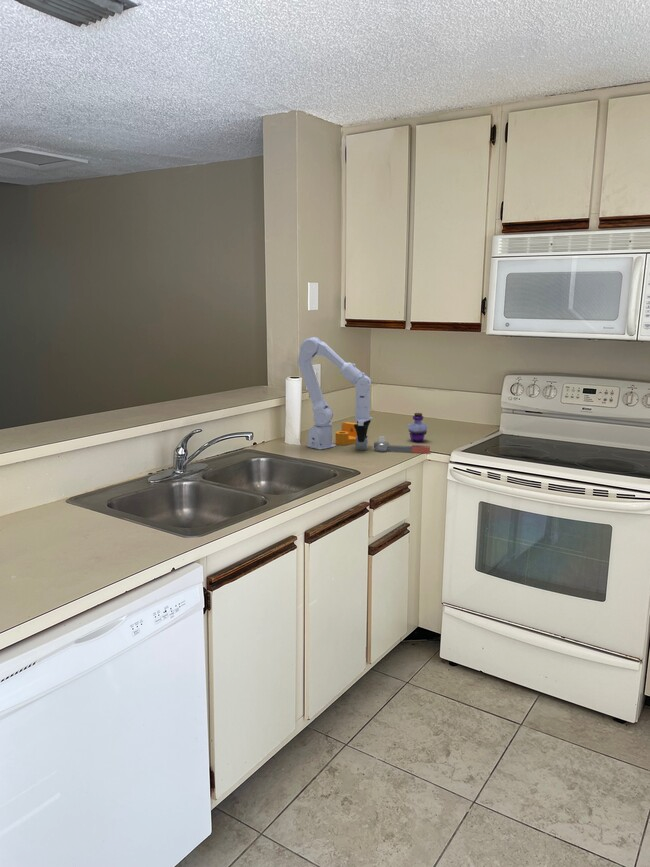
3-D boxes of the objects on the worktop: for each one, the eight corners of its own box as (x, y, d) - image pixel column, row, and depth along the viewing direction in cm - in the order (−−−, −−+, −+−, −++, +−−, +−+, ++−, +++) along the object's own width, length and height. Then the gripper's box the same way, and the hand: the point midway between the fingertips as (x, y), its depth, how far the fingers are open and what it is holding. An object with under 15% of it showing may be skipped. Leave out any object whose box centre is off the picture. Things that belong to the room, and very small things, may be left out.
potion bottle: (431, 441, 281) (433, 413, 279) (418, 444, 276) (419, 415, 273) (416, 437, 288) (417, 410, 285) (402, 440, 282) (403, 412, 279)
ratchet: (373, 451, 262) (373, 438, 261) (374, 448, 268) (374, 434, 267) (429, 454, 259) (430, 440, 258) (429, 450, 265) (430, 437, 264)
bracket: (366, 424, 277) (348, 429, 268) (365, 441, 279) (348, 446, 270) (345, 421, 284) (328, 425, 275) (345, 438, 285) (327, 442, 276)
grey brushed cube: (355, 449, 265) (355, 437, 264) (356, 447, 269) (357, 435, 268) (366, 450, 264) (366, 437, 263) (367, 447, 269) (368, 435, 268)
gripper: (371, 410, 256) (370, 444, 258) (374, 403, 270) (373, 436, 272) (352, 409, 257) (352, 443, 260) (357, 403, 271) (356, 435, 274)
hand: (362, 439), depth 266 cm, fingers open, 7 cm apart
